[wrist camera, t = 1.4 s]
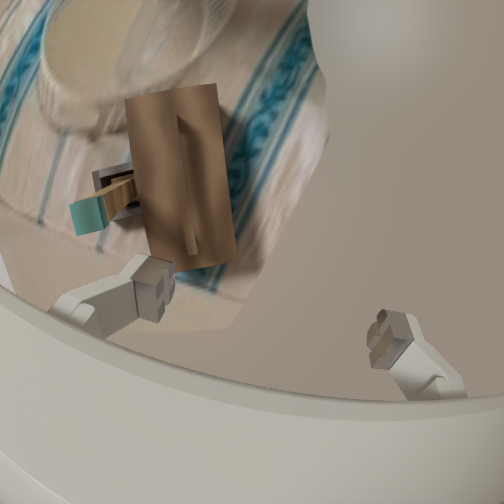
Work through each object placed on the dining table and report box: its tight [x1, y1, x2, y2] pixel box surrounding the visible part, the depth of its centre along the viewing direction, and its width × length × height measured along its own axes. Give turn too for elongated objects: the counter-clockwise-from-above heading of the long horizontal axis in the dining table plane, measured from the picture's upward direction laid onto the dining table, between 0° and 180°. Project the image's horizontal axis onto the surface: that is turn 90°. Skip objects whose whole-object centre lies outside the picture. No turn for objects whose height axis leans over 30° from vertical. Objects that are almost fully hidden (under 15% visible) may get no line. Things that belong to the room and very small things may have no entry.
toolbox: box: [92, 83, 238, 273], centre depth 38 cm, size 21×27×12 cm
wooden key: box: [69, 173, 139, 236], centre depth 33 cm, size 4×4×21 cm
